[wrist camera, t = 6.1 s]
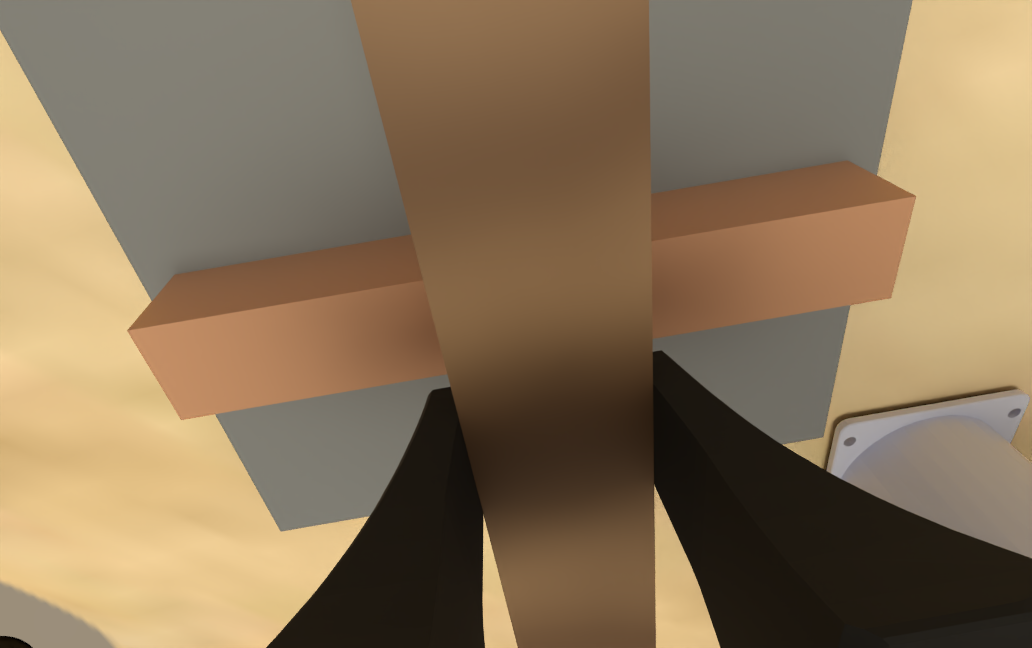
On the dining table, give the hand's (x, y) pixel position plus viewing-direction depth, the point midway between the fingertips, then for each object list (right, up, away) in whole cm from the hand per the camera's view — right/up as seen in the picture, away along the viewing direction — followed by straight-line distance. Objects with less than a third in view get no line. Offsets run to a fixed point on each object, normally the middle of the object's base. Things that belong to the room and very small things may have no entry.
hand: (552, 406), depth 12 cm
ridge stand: (-1, +4, +7) cm, 8 cm away
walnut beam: (0, +2, +3) cm, 4 cm away
